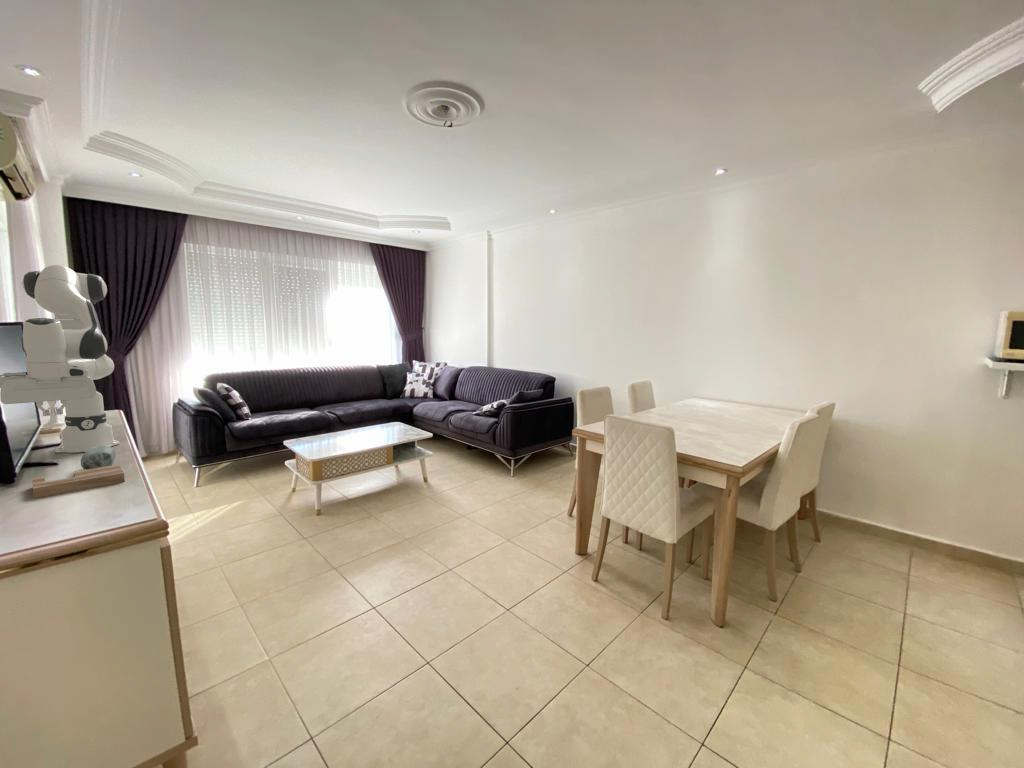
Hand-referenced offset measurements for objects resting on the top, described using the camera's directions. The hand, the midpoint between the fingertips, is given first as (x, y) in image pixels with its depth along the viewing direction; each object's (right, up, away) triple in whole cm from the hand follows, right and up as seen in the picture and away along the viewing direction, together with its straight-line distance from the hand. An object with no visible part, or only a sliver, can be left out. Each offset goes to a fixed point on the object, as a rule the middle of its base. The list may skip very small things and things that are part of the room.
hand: (53, 415), depth 131 cm
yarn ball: (-4, -21, +19) cm, 28 cm away
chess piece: (0, -4, 0) cm, 4 cm away
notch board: (+4, -23, +4) cm, 24 cm away
